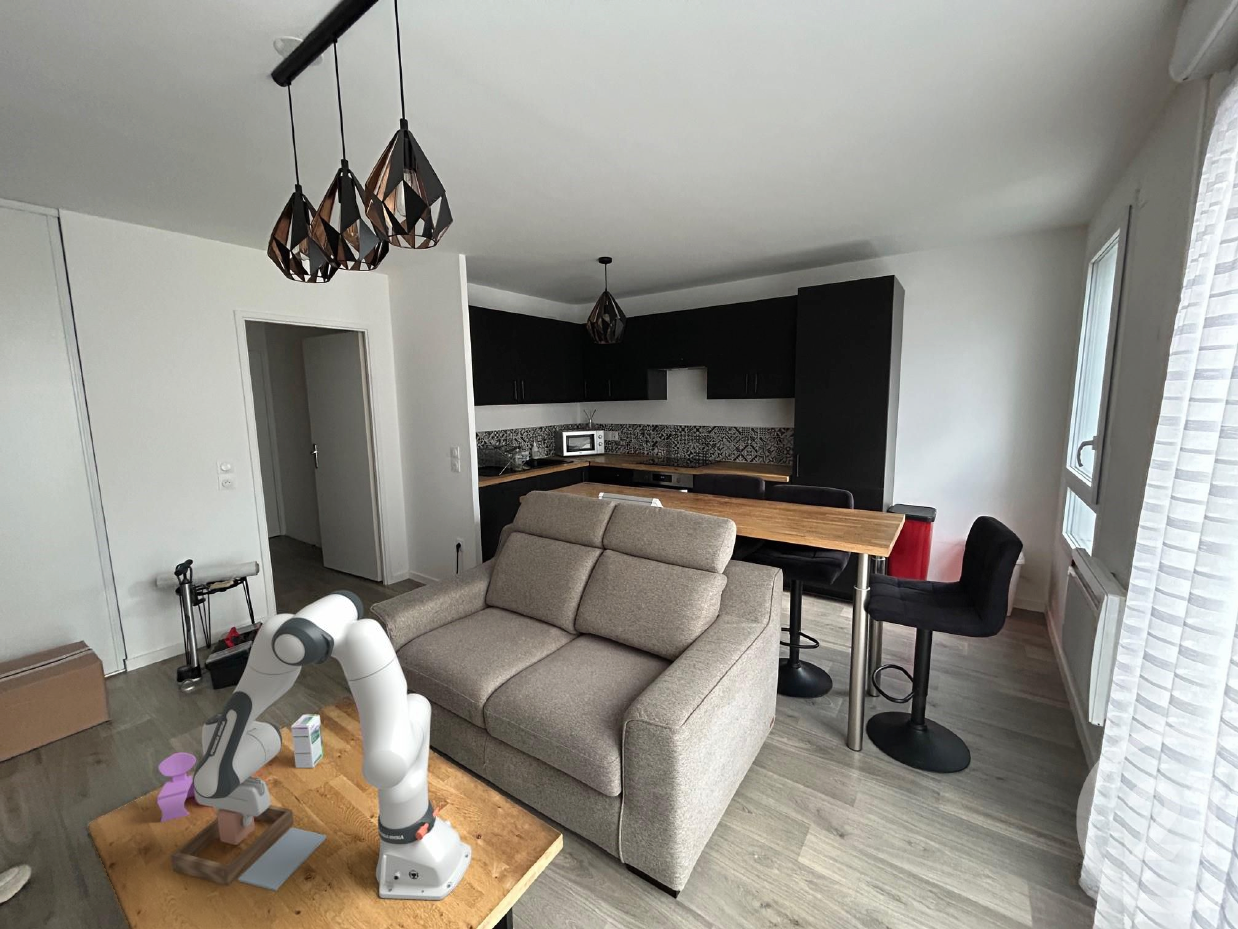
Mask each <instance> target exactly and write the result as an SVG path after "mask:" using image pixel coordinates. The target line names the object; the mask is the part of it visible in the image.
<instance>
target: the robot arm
mask: <svg viewBox="0 0 1238 929" xmlns="http://www.w3.org/2000/svg"><path fill="white" fill-rule="evenodd" d="M363 615H364V606H363V602H362V600H361V598H360V597H359V596H358V595H357V594H356V593H354V592H352V591H350V590H345V589H341V590H335V591H332V592H330V593H327V594H325V595H324V596H322V597H321V598H320V599H318V600H316V601H314V602H312V603H310V604H308V605H306V606H305V607H303V608H302V609H300V610H299V611H298V612H297V613H295V614H293V613H279V614H275V615H273V616H271V617H269V618H268V619H266V620H265V621H264V622H263V623H262V624H261V626H260V628H259V630H258V631H257V634H256V635H255V638H254V641H253V643H252V646H251V649H250V652H249V655H248V659H247V663H246V666H245V668H244V672H243V673H242V676H241V678H240V679H239V682H238V684H237V685H236V687H235V689H234V690H233V692H232V694H231V695H230V697H229V698H228V699H227V701H226V703H225V705H224V707H223V709H222V711H219V712H218V713H216V714H214V715H212V716H211V717H210V718H208V719H207V720H206V721H204V724H203V726H202V732H201V733H202V734H201V742H202V753H203V757H201V759H200V760H199V761H198V762H197V764H196V766H195V768H194V773H193V774H191V775H192V782H193V786H194V793H195V796H194V799H195V798H196V800H197V802H198V803H197V804H199V805H200V806H201V805H202V806H206V807H210V806H211V807H210V808H214V809H215V811H216V813H217V812H219V811H220V810H221V809H224V810H229V811H233V812H238V813H242V815H243V816H244V818H242V819H241V820H240V823H241V826H245V827H247V826H248V825H249V824H250V823H251V821H252V819H251V816H259V815H261V814H262V813H263V812H264V811H265V810H266V809H267V808H268V807H269V806H270V805H272V802H271V795H270V792H269V788H268V785H267V783H266V782H265V781H264V780H262V779H260V777H257V776H253V774H255V773H256V772H257V771H259V770H260V769H261V768H262V767H263V766H265V765H266V764H267V763H268V762H270V761H271V760H272V759H273V758H274V757H276V756H277V754H278V755H279V753H280V752H281V749H282V747H283V736H282V732H281V730H280V728H279V727H278V725H276V724H275V723H272V722H269V721H257V718H258V717H259V716H260V715H261V714H262V713H263V712H264V711H265V710H267V708H269V707H270V706H271V705H272V704H273V703H275V702H277V700H278V699H280V698H281V697H282V696H283V695H285V693H287V692H288V691H289V690H290V689H291V688H292V687H293V685H294V684H295V682H296V680H297V678H298V676H299V675H300V673H301V670H302V667H304V666H308V665H312V664H314V665H316V664H317V665H322V664H324V663H326V662H327V661H329V659H330V658H331V657H332V658H334V659H336V660H337V661H338V662H339V664H340V666H341V668H342V671H343V673H344V676H345V679H346V681H347V684H348V687H349V689H350V691H351V694H352V697H353V699H354V702H355V704H356V709H357V712H358V718H359V724H360V730H361V742H362V750H363V752H362V755H363V757H362V765H361V774H362V777H363V778H364V779H363V780H365V782H366V783H367V784H368V785H370V786H371V787H373V788H374V789H375V788H376V789H377V798H378V800H377V801H378V802H377V803H378V812H379V813H378V816H377V830H378V836H379V838H380V841H379V842H380V843H379V855H378V860H377V865H376V869H375V878H376V880H377V882H378V884H379V890H378V891H379V892H378V896H379V897H380V898H382V899H396V900H397V899H399V900H406V899H407V900H424V901H425V900H426V901H427V900H430V901H440V900H443V899H445V898H446V897H447V896H448V895H450V893H451V892H453V891H454V890H455V889H456V887H457V885H459V883H460V882H461V880H462V878H463V877H464V875H465V874H466V872H467V870H468V868H469V866H470V863H471V860H472V855H473V854H472V853H473V852H472V846H471V845H470V844H468V843H465V842H463V841H461V837H460V834H459V833H458V831H457V830H456V829H454V828H453V827H452V823H451V822H450V821H449V820H445V821H444V820H442V819H441V818H440V817H439V816H437V815H438V814H439V811H440V810H439V809H440V808H439V806H438V807H436V809H435V808H434V807H433V805H432V802H431V800H430V799H429V786H428V765H429V754H430V737H431V736H430V734H431V732H430V731H431V718H432V717H431V716H432V706H431V703H430V702H429V700H428V699H427V698H426V697H425V696H423V695H421V694H420V693H409V694H408V683H407V680H406V677H405V674H404V672H403V669H402V666H401V664H400V661H399V658H398V657H397V654H396V651H395V649H394V646H393V645H392V644H393V643H391V640H390V638H389V637H388V634H387V633H386V631H385V630H384V629H383V627H382V625H381V624H380V623H379V622H378V621H377V620H375V619H372V618H362V617H363ZM434 809H435V810H434Z"/></svg>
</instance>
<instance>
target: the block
mask: <svg viewBox="0 0 1238 929" xmlns="http://www.w3.org/2000/svg"><path fill="white" fill-rule="evenodd" d="M216 816H217V817H216V818H218V824H219V832H220V836H219V838H220V839H219V840H220V842H223V843H227V844H230V845H235V846H237V845H238V844H239V843H241V842H242V841H243V840H244V839H245V838H246V837H247V836H248V835H250V834H251V833H252V832H253V831H255V829H256V825H255V819H254V817H253V816H251V819H252V821H251V823H250V824H249V825H248V826H247V827H245V826H241V823H240V820H241V819H242V818H244V816H243V815H242V813H238V812H233V811H229V810H224V809H221V810H220V811H219V812H217V811H216Z"/></svg>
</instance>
